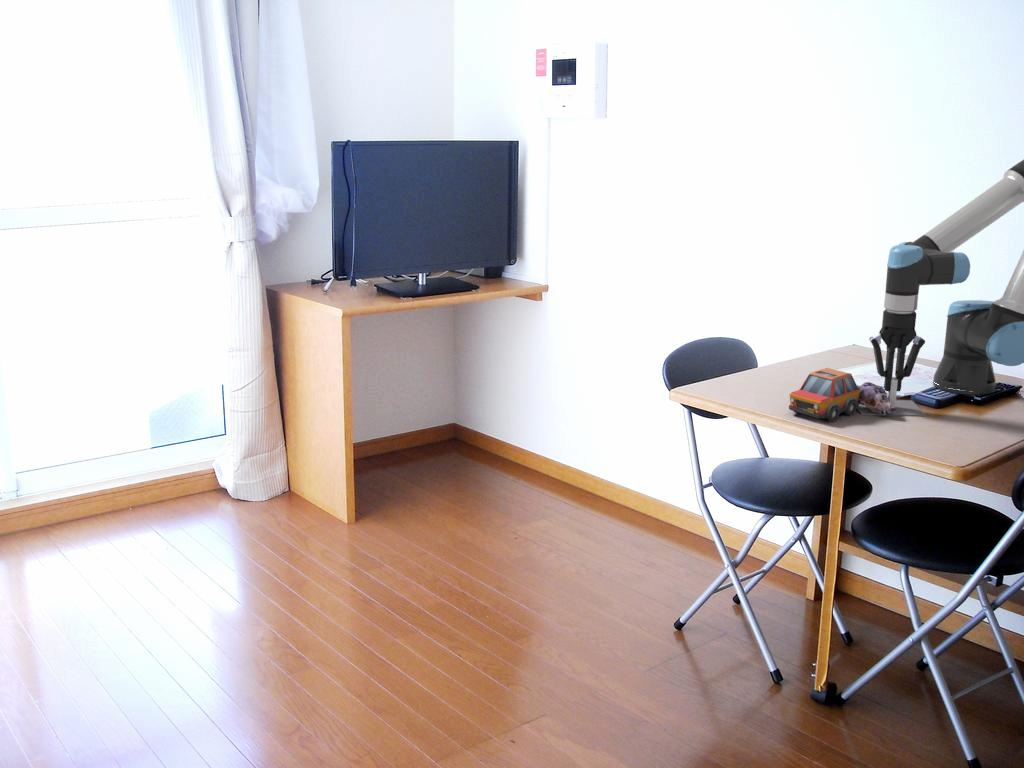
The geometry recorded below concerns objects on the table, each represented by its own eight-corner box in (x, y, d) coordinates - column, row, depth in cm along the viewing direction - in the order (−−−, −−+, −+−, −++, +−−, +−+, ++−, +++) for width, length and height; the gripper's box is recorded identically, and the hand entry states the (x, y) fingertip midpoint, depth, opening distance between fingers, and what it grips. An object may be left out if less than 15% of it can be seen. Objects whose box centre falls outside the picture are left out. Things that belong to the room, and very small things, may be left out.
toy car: (782, 414, 256) (785, 375, 253) (824, 400, 266) (827, 362, 263) (822, 426, 248) (826, 385, 245) (863, 411, 258) (867, 372, 255)
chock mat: (911, 401, 265) (912, 400, 264) (925, 416, 254) (925, 414, 253) (851, 400, 266) (851, 399, 266) (861, 415, 255) (861, 413, 255)
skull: (903, 417, 252) (905, 393, 250) (873, 419, 251) (875, 395, 249) (878, 402, 263) (880, 379, 261) (849, 404, 262) (851, 381, 260)
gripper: (923, 306, 255) (913, 399, 262) (868, 306, 256) (860, 398, 263) (932, 313, 248) (922, 408, 255) (876, 313, 249) (867, 407, 256)
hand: (890, 403), depth 259 cm, fingers closed
